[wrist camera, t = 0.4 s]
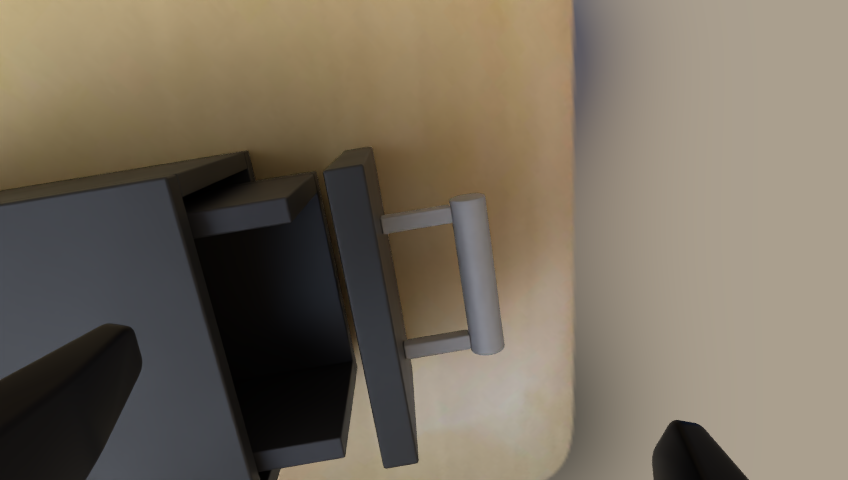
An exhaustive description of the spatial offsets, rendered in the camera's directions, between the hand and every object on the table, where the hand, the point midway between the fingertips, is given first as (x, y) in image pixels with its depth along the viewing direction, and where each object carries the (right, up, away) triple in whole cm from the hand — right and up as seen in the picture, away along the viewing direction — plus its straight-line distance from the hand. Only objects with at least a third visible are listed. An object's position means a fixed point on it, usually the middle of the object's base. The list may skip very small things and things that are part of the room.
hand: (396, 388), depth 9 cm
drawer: (-5, +1, +14) cm, 15 cm away
